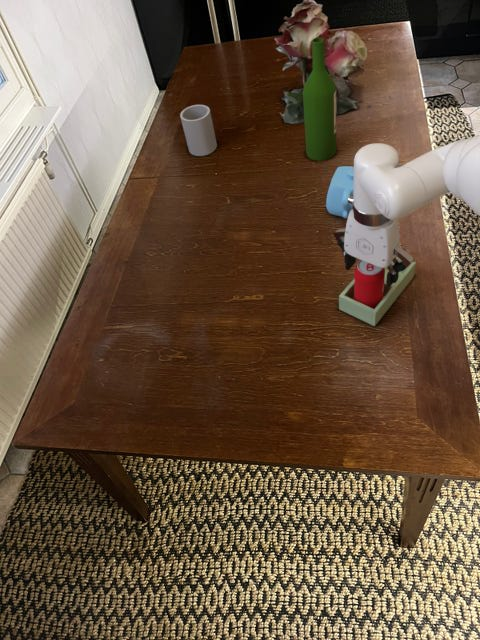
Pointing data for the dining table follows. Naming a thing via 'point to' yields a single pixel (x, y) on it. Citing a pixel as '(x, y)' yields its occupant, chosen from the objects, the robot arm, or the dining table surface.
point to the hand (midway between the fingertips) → (370, 274)
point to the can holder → (389, 297)
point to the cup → (198, 130)
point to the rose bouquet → (339, 54)
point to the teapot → (341, 192)
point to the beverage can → (368, 284)
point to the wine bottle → (319, 108)
